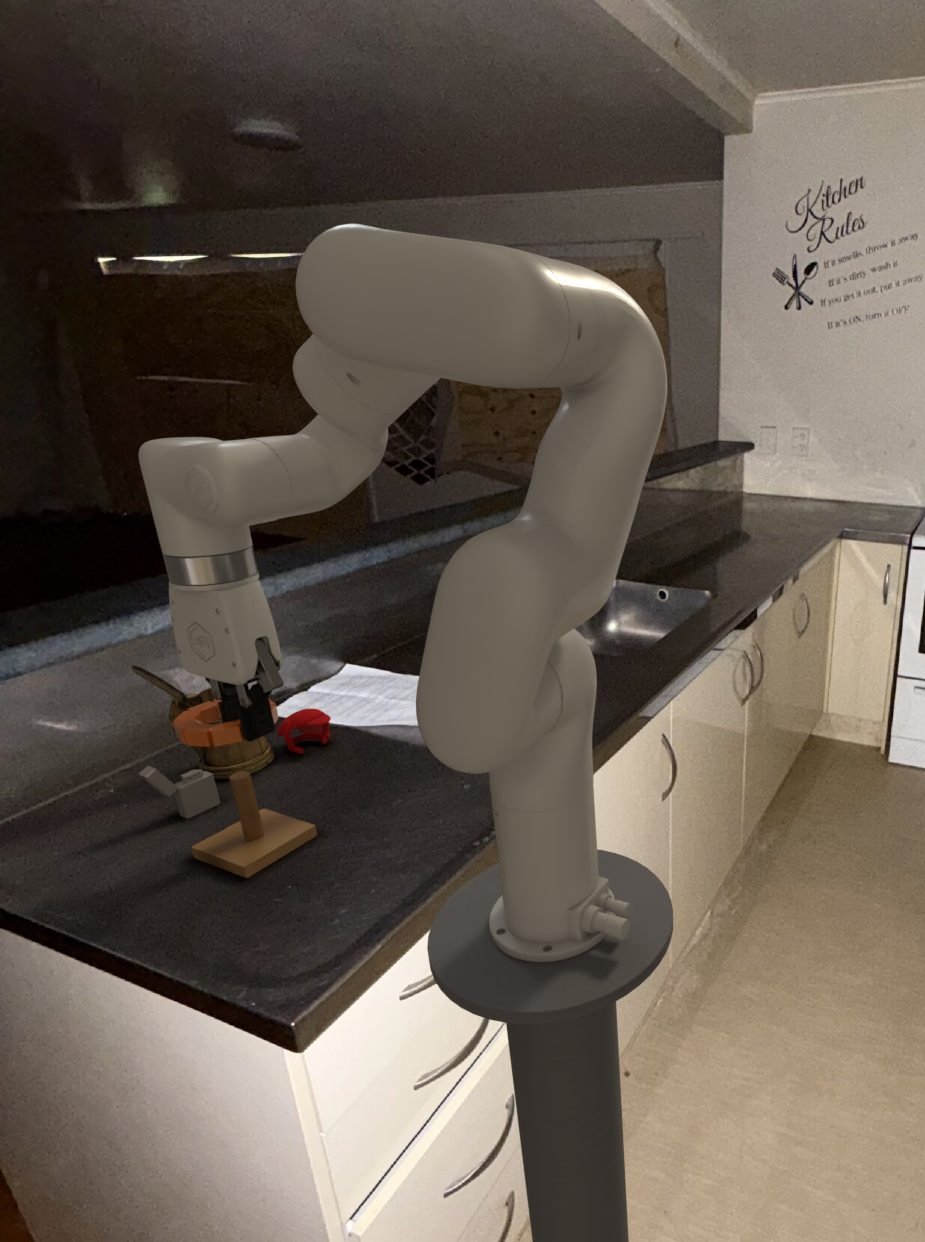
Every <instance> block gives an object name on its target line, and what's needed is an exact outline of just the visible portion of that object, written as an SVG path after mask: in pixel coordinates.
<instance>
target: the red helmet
mask: <svg viewBox="0 0 925 1242" xmlns="http://www.w3.org/2000/svg"><path fill="white" fill-rule="evenodd" d="M331 720H332V718H331V716H330V715H328V714H326V713H325V712H324V711H322V710H320V709H318V708H304V709H301V710H300V709H299V710H297V711H295V712H293V713H291V714H289V715H288V716H286V717H285V718H284V719H283V720H282V721H281V722H280V724H279V726H278V727H277V730H276V733H277V737H282V736H283V739H284V741H285V745H286V747H287V749H288V751H290V752H292V753H296V754H299V755H303V754H304V753H305V749H304V748H301V747H298V746H295V744H296V743H299V742H303V741H307V740H317V741H320V743H321V744H322V745H326V744H327V743H328V740H330V739H331V736H330V730H331V724H330V721H331ZM295 729H297V731H299V732H300V733H301V734H300V735H296V736H293V737H292V731H293V730H295Z"/></svg>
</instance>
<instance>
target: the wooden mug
mask: <svg viewBox="0 0 925 1242" xmlns="http://www.w3.org/2000/svg"><path fill="white" fill-rule="evenodd" d="M131 671H132V672H133V673H134V674H136V675H137V676H139V677H141V678H142V679H143V680H145V681H147V682H149V683H151V684H152V685H153V686H155V687H157V688H158V689H160V690H161V691H163V692H164V693H166V694H167V695H169V696H170V697H172V699H171V704H170V706H169V709H168V711H169V712H168V719H169V726H170V728H171V730H172V731H173V733H174V735H176V732H175V728H174V724H173V723H174V720H175V719H176V718H177V717H178V716H179V715H180V714H181V713H182V712H183V711H187V709H189V708H191V707H194V706H197V705H199V704H202V703H205V702H207V701H211V702H213V701H214V700H215V698H214V697H213V694H212V690H211V687H209V688H206V689H203V690H202V691H200V692H198V693H194V694H189V695H186V694H185V693H184V692H182V691H181V690H179V689H178V688H176V687H175V686H173V685H172V684H171V683H169V682H167V681H166V680H164V679H163V678H162V677H160V676H158V675H157V674H154V673H152V671H149V670H147V669H146V668H144V667H142V666H137V665H133V664H132V665H131ZM219 723H223V722H222V719H219V720H216V721H214V722H211V723H209V724H219ZM190 747H191V748H192V749H193V750H194V751H195V752H196V754H197V756H198V761H197V762H198V770H203V772H204V771H207V772H210V773H212V774H213V776H214V780H215V781H216V780H218V781H219V780H220V781H221V780H222V781H223V780H230V779H229V777H230V776H231V775H232V774H234V773H237V772H241V771H247V772H249V773H250V775H251V774H255V773H257V772H259V771H261V770H262V769H264V768H266V767H267V766H268V765H269V764H271V763H272V762H273V760H274V759H275V753H274V751H273V749H272V746H271V744H270V743H269V742H267V739H266V737H265V736H263V737H260V738H258V739H256V740H254V741H251V742H249V741H246V740H244V739H243V741H242V742H237V743H232V744H227V745H221V746H216V747H215V746H214V745H212V746H210V747H201V746H190Z"/></svg>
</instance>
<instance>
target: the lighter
mask: <svg viewBox="0 0 925 1242" xmlns="http://www.w3.org/2000/svg"><path fill="white" fill-rule="evenodd" d="M138 776H140V777H141V778H142V780H144V781H146V783H148V784H149V785H150V786H151V787H153V788H154V789H155V790H156V791H158V792H159V793H160V794H161V795H163V796H166V797H167V798H170V797H171V796H172V795H173V794H174V799H175V802H176V805H177V808H178V812H179V816H180V817H182V818H184V819H191V818H194V817H195V816H197V815H199V814H201V813H203V812H206V811H207V810H210V809H212V808H214V807H216V806H219V805H220V804H221V800H220V796H219V792H218V787H217V784H216V779H214V776H213V774H212V773H210V772H207V771H204V772H203V770H199V769H194V768H193V769H192V770H189V771H187V772H185V773H183V774H181V775H180V778H181V780H180V781H178V782H175V783H173V782H172V781H171V780H169V778H167V776H165V775H164V774H163V773H162V772H160V770H158V769H157V768H155V767H153V766H151V765H147V766H145V767H144V769H142V770H141V771H140V772H139V773H138Z"/></svg>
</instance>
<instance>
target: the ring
mask: <svg viewBox="0 0 925 1242" xmlns="http://www.w3.org/2000/svg"><path fill="white" fill-rule="evenodd" d="M220 701H221V700H220ZM220 701H217V700H216V699H215V700H214V701H213V702H211V701H207V702H205V703H202V704H199V705H197V706H194V707H191V708H189V709H187V711H183V712H182V713H181V714H180V715H179V716H178V717H177V718H176V719H175V720H174V723H173V724H174V728H175V732H176V734H175V736H176V738H177V739H178V740H179V741H180V742H181V743H182V744H183V745H184V746H185V745H187V746H188V747H191V746H201V747H210V746H212V745H214V746H215V747H216V746H221V745H227V744H232V743H237V742H242V741H243V739H244V736H243V732H242V728H241V723H240V719H239V720H236V721H231V722H225V723H219V724H209V723H211V722H214V721H216V720H219V719H222V717H221V713H220V709H219V705H218V702H220ZM269 702H270V707H271V711H272V716H273V720H274V725H275V724H276V723H277V722H278V720H279V713H278V708H277V704H276V702H274V701H273V700H272V699H271V698H270V699H269Z"/></svg>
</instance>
